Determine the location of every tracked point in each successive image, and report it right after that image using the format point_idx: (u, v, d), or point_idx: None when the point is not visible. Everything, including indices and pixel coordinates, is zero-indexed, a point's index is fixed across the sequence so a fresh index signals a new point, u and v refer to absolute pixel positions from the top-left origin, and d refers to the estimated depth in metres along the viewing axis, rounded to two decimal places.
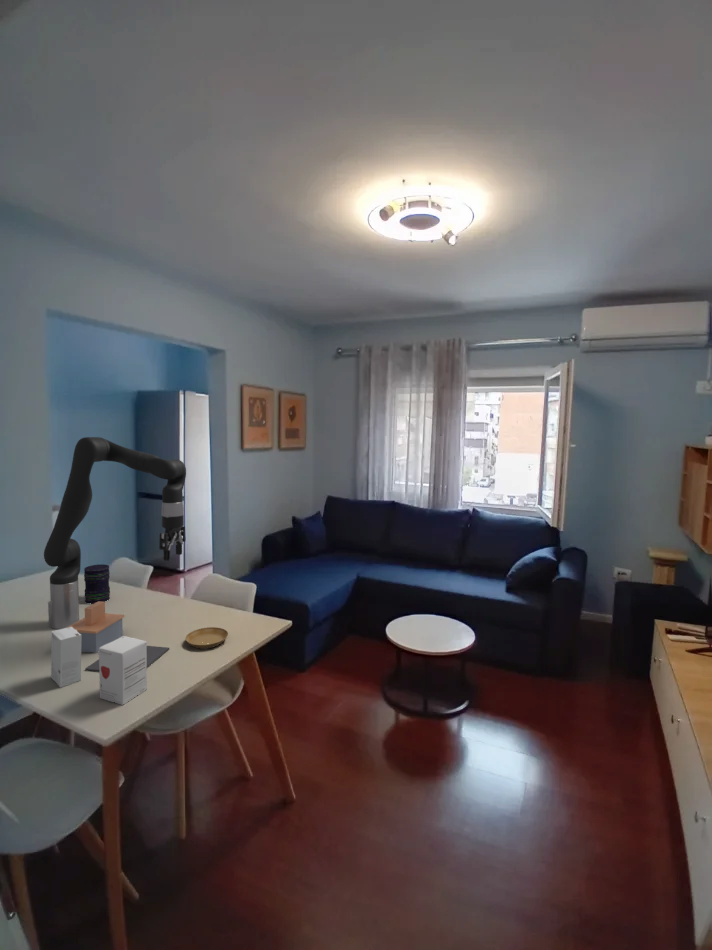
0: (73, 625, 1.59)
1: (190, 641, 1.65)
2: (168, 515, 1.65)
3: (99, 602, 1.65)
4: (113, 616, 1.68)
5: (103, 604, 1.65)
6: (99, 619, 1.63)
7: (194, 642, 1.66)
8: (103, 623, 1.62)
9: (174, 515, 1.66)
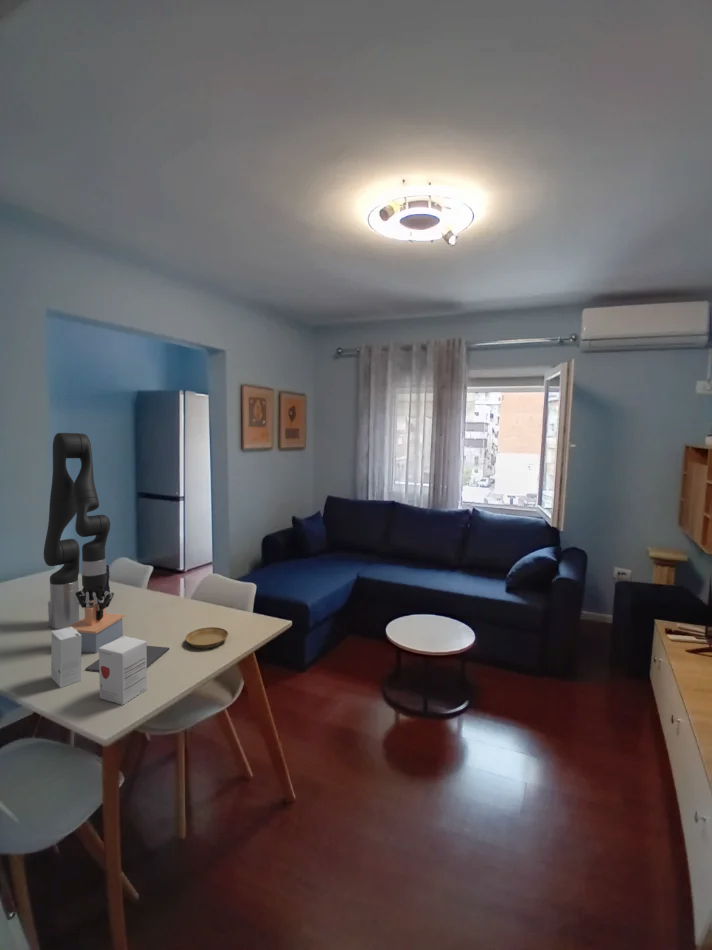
0: (73, 625, 1.59)
1: (190, 641, 1.65)
2: (104, 571, 1.62)
3: None
4: (113, 616, 1.68)
5: None
6: None
7: (194, 642, 1.66)
8: (103, 623, 1.62)
9: None
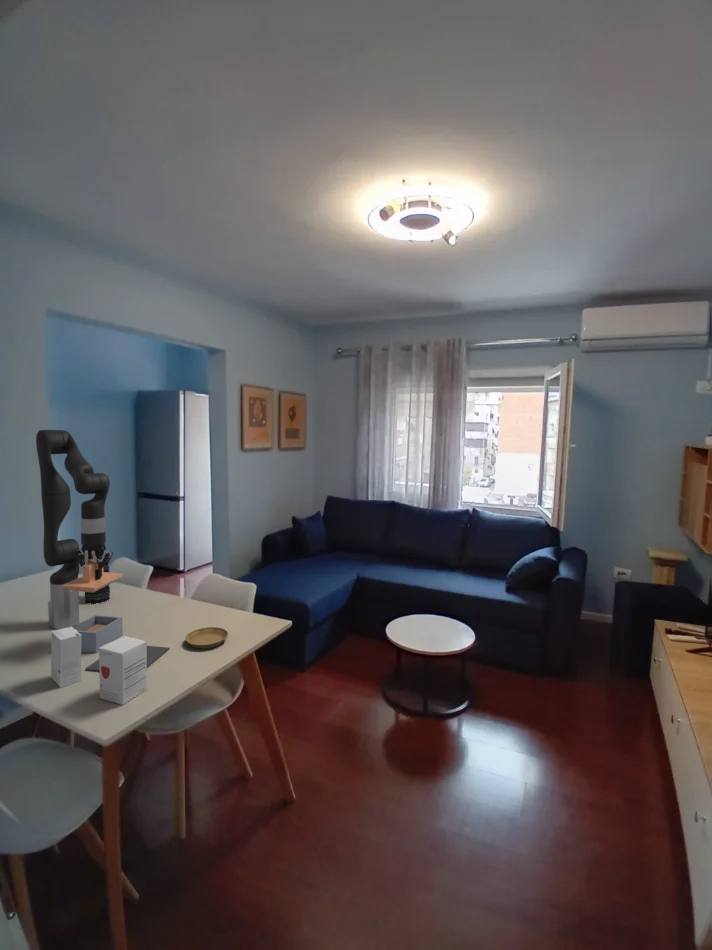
0: (71, 582, 1.58)
1: (190, 641, 1.65)
2: (104, 530, 1.60)
3: None
4: (111, 575, 1.66)
5: None
6: None
7: (194, 642, 1.66)
8: (101, 580, 1.60)
9: (105, 529, 1.62)
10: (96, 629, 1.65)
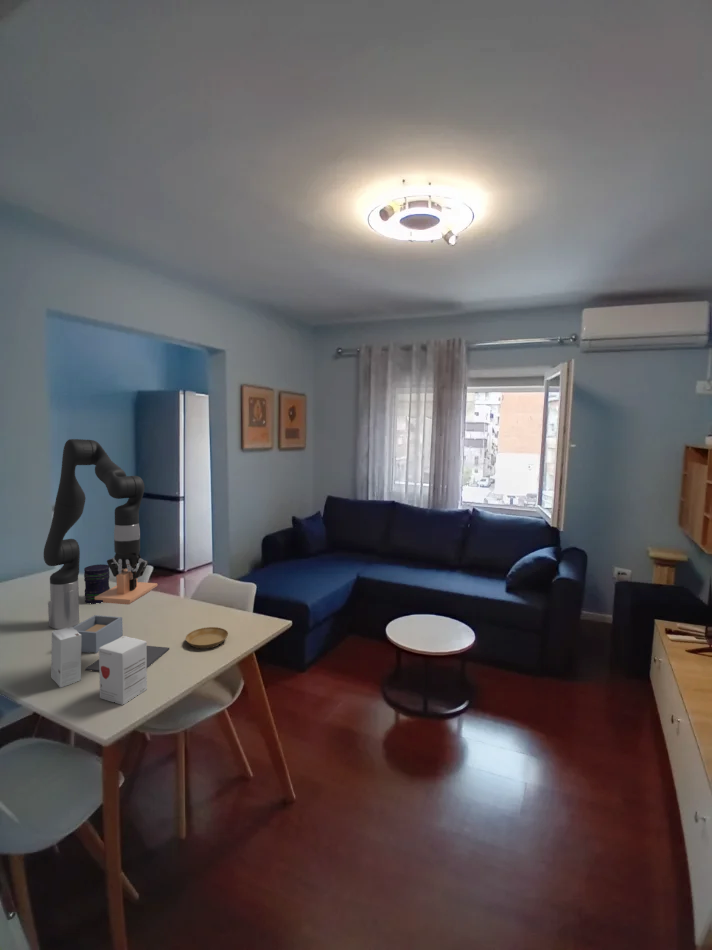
0: (104, 593, 1.46)
1: (190, 641, 1.65)
2: (138, 537, 1.49)
3: None
4: (146, 585, 1.55)
5: None
6: None
7: (194, 642, 1.66)
8: (136, 591, 1.49)
9: None
10: (96, 629, 1.65)
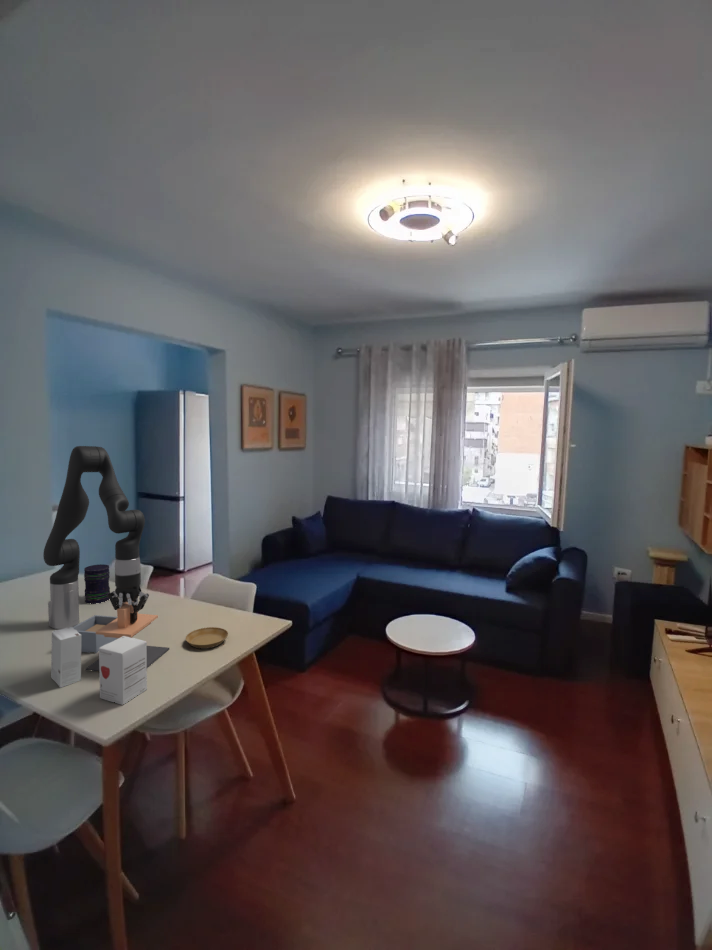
0: (105, 627, 1.47)
1: (190, 641, 1.65)
2: (139, 571, 1.50)
3: None
4: (146, 617, 1.56)
5: None
6: None
7: (194, 642, 1.66)
8: (137, 624, 1.50)
9: None
10: (96, 629, 1.65)
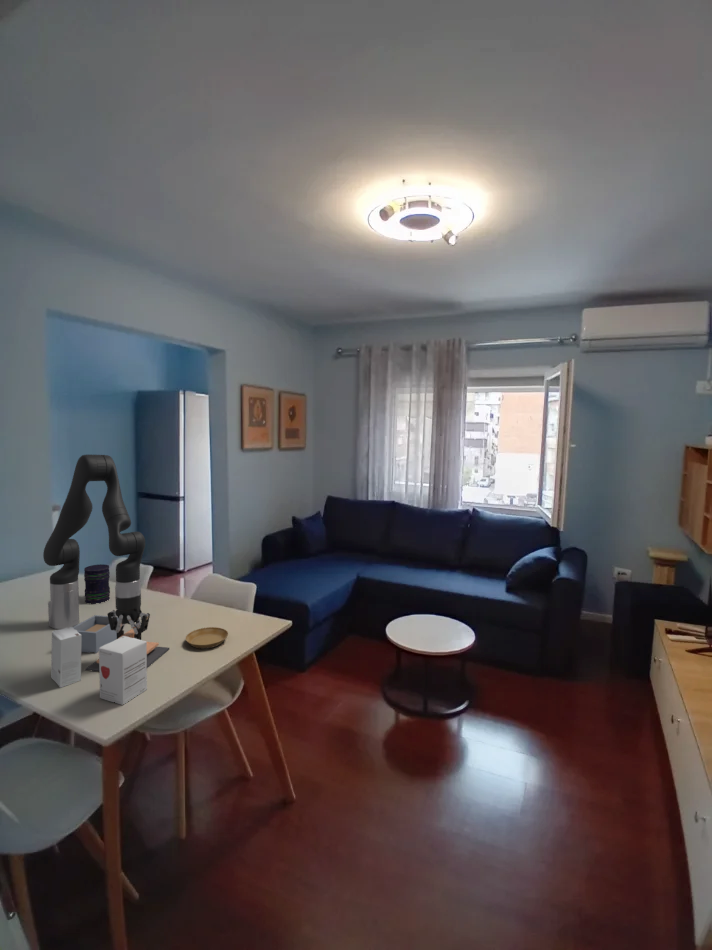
0: None
1: (190, 641, 1.65)
2: (139, 593, 1.51)
3: (132, 630, 1.54)
4: (147, 644, 1.57)
5: None
6: None
7: (194, 642, 1.66)
8: None
9: None
10: (96, 629, 1.65)
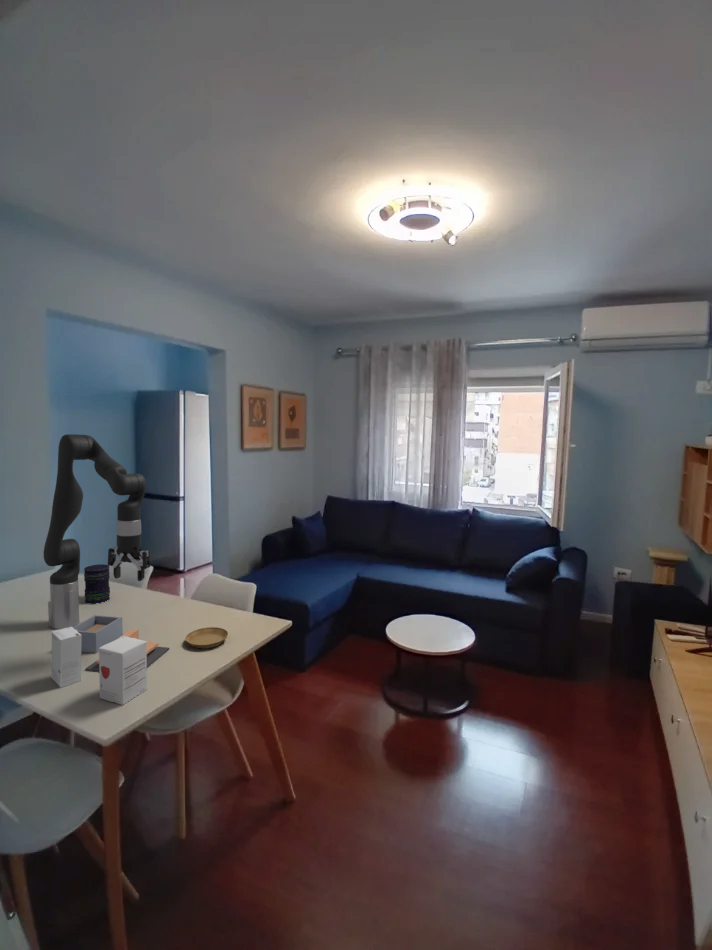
0: None
1: (190, 641, 1.65)
2: (140, 532, 1.55)
3: (132, 630, 1.54)
4: (147, 644, 1.57)
5: (137, 632, 1.54)
6: None
7: (194, 642, 1.65)
8: None
9: None
10: (96, 629, 1.65)
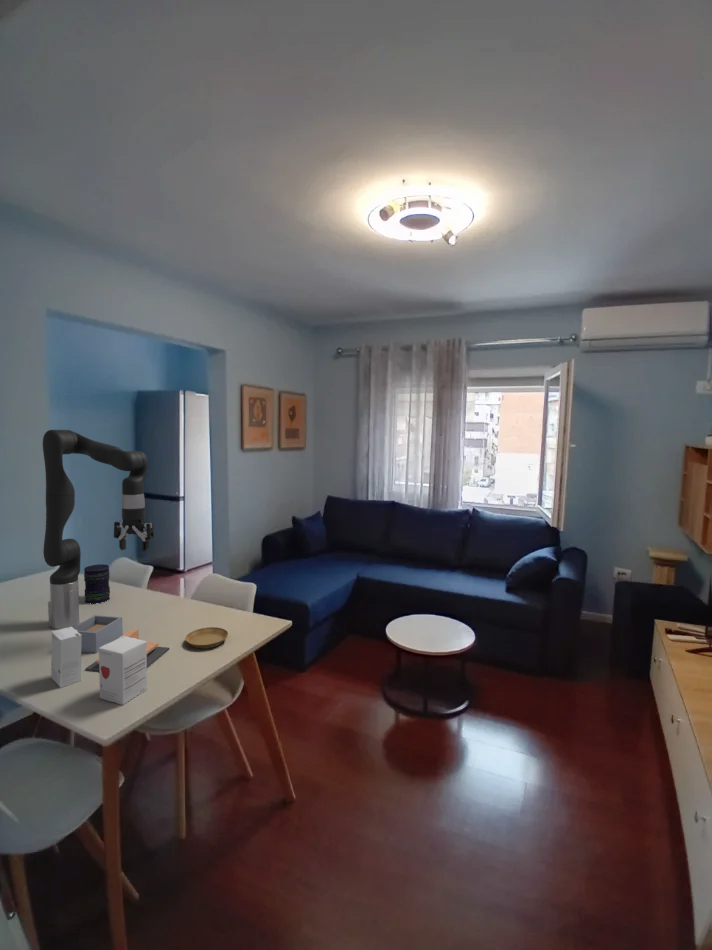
0: None
1: (190, 642, 1.65)
2: (143, 506, 1.66)
3: (132, 630, 1.54)
4: (147, 644, 1.57)
5: (137, 632, 1.54)
6: None
7: (194, 642, 1.65)
8: None
9: (144, 505, 1.68)
10: (96, 629, 1.65)
